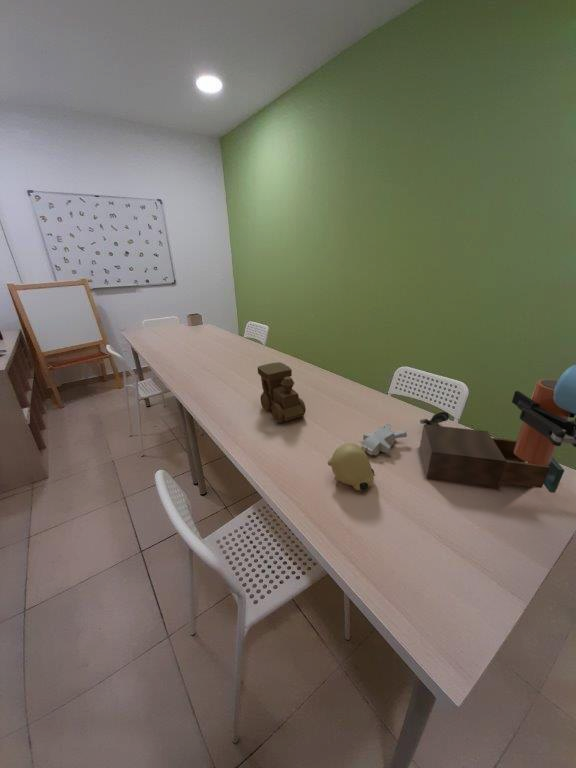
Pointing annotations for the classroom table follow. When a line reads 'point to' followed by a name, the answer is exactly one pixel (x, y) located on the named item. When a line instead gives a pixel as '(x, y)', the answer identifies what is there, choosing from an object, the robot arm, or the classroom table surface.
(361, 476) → the tan rounded lump
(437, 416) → the eagle figurine
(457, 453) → the cabinet
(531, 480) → the drawer
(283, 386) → the wooden toy train
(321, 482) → the classroom table surface
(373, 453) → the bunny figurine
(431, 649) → the classroom table surface
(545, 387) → the pencil holder
